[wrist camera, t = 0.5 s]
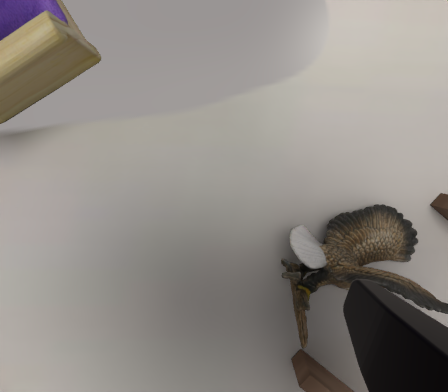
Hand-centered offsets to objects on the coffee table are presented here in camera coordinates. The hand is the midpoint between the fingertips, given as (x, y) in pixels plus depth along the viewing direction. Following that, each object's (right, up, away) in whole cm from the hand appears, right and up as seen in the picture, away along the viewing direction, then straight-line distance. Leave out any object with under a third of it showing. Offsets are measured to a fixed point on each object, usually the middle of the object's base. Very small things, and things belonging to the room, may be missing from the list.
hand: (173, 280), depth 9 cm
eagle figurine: (+9, -2, +16) cm, 19 cm away
